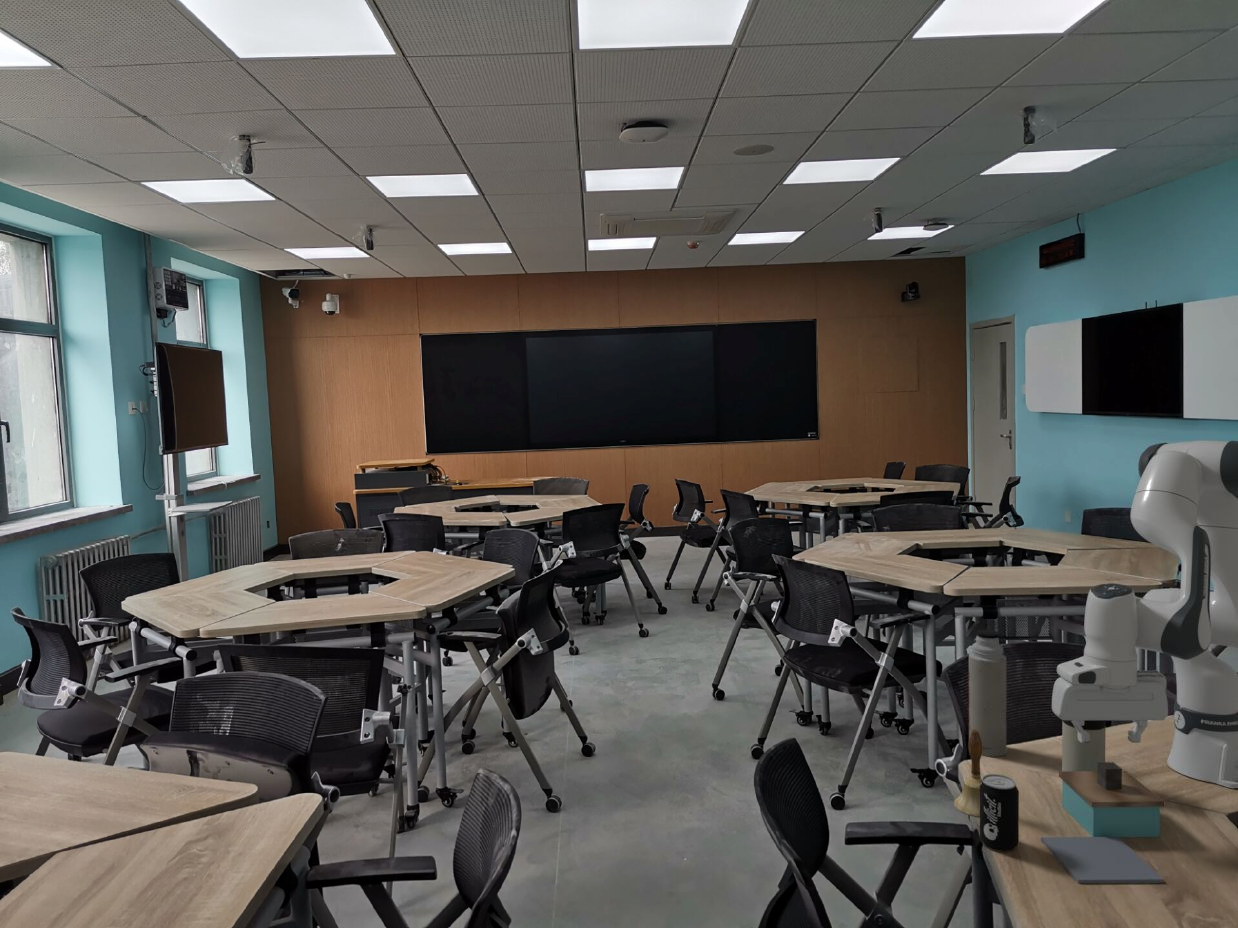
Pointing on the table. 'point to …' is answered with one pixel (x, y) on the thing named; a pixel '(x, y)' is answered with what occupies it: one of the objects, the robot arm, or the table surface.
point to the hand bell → (972, 780)
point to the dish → (1111, 817)
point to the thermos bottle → (988, 692)
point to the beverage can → (999, 812)
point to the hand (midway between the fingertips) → (1108, 741)
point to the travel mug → (1083, 746)
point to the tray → (1100, 860)
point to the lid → (1110, 787)
